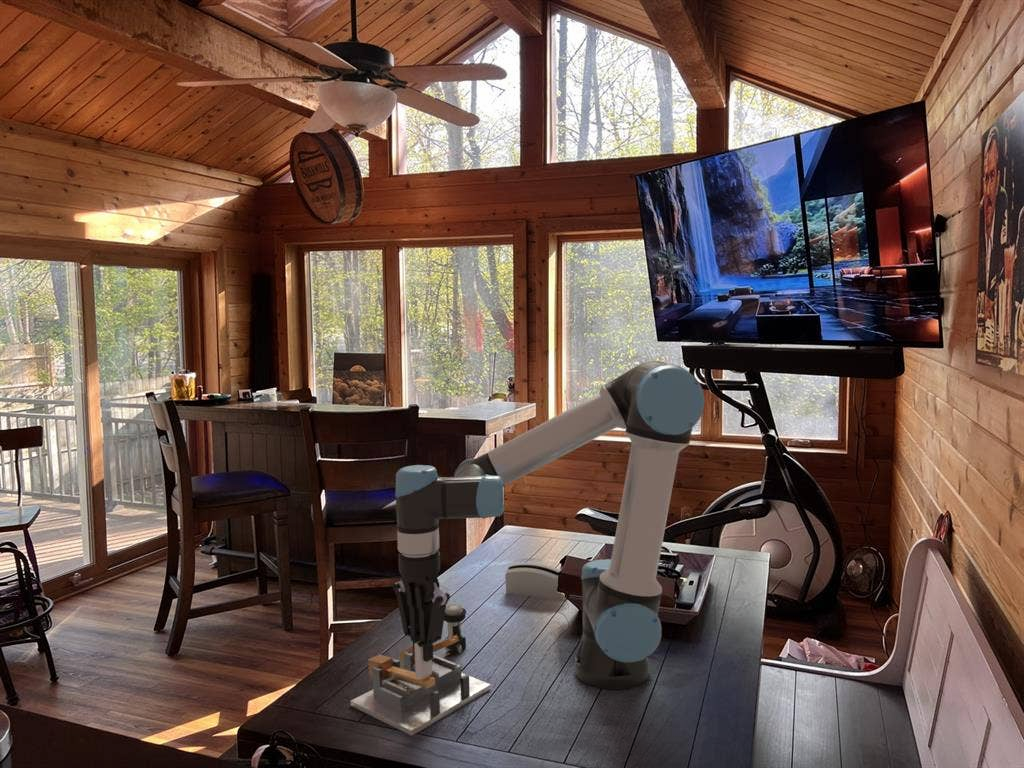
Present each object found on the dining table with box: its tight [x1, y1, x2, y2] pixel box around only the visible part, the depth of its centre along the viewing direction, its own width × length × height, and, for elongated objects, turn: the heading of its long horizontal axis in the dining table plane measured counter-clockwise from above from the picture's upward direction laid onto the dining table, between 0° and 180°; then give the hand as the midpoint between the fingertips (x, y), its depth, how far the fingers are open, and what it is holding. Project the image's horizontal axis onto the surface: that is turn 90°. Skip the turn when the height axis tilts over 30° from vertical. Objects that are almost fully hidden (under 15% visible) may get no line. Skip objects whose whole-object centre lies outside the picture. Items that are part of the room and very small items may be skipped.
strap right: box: [397, 635, 459, 668], centre depth 152 cm, size 16×3×3 cm, turn 49°
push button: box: [442, 603, 467, 657], centre depth 167 cm, size 7×5×10 cm
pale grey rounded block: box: [504, 562, 566, 602], centre depth 200 cm, size 17×5×10 cm, turn 67°
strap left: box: [368, 654, 435, 688], centre depth 145 cm, size 16×3×3 cm, turn 50°
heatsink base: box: [350, 652, 492, 737], centre depth 148 cm, size 17×21×7 cm
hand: (423, 675), depth 141 cm, fingers closed
